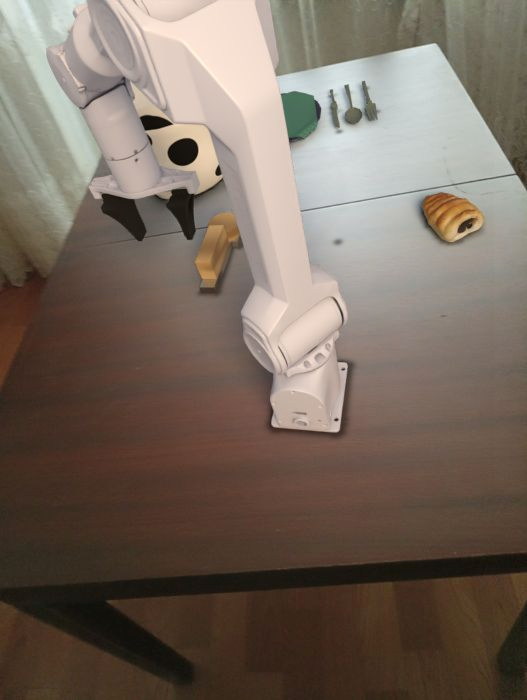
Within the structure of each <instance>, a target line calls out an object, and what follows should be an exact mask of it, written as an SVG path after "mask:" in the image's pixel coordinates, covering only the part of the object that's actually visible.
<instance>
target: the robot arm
mask: <svg viewBox="0 0 527 700" xmlns="http://www.w3.org/2000/svg"><path fill="white" fill-rule="evenodd" d="M271 7H272V6H271V1H270V0H86V1H85V2H83V3H81V4H79V5H77V6H75V7H74V8H73V10H72V15H73V17H74V21H73V24H72V25H70V26H69V27H68V28H67V34H68V35H67V37H66V39H65V41H63V42H61V43H59V44H57V45H55V46H53V45H52V46H47V47H46V54H45V55H46V60H47V62H48V65H49V67H50V70H51V72H52V74H53V76H54V78H55V80H56V81H57V83H58V85H59V87H60V88H61V90H62V91H63V93H64V94H65V96H67V98H68V99H69V100H70V102H71V103H72V104H73V105H74V106H76V107H77V108H78V109H79V111H80V113H81V115H82V118H83V119H84V121H85V123H86V125H87V127H88V129H89V131H90V132H91V135H92V137H93V139H94V141H95V142H96V143H95V144H96V145H97V147H98V149H99V151H100V152H101V155H102V157H103V158H104V160H105V162H106V164H107V166H108V168H109V170H110V173H111V174H109V175H105V176H100V177H99V176H98V177H94V178H93V179H92V180H91V182H90V183H89V185H88V189H89V191H90V193H91V194H92V196H93V198H94V200H102V204H101V206H100V210H101V212H102V213H103V214H104V215H106V216H108V217H110V218H112V219H113V220H114V221H116V222H118V223H119V224H120V225H121V226H122V227H123V228H125V230H127V232H129V233H130V234H131V235H132V237H133V238H134V239H135V240H136V241H137V242H143V241H144V238H145V237H146V234H147V233H148V231H147V227H146V225H145V223H144V220H143V218H142V216H141V214H140V211H139V209H138V206H137V204H136V201H135V200H138V199H143V198H147V197H151V196H154V194H158V193H162V192H171V194H172V196H170V198H169V200H167V203H166V205H165V207H166V208H167V209H168V211H169V212H170V213H171V214H172V215H173V216H174V218H175V219H176V221H177V222H178V224H179V226H180V228H181V231H182V233H183V236H184V237H185V239H186V240H187V241H192V240H193V239H194V237H195V234H196V233H197V227H196V222H195V197H196V196H195V193H196V192H197V190H198V188H199V185H200V182H199V179H198V176H197V173H196V171H183V170H178V169H172V168H167V167H162V166H159V163H158V161H157V158H156V156H155V154H154V151H153V149H152V146H151V144H150V142H149V139H148V137H147V134H146V132H145V130H144V127H143V125H142V122H141V120H140V118H139V115H138V113H137V110H136V108H135V106H134V103H133V101H134V99H135V94H134V92H133V89H132V87H131V83H130V81H131V82H132V83H133V84H134V85H135V86H136V87H137V88H138V89H139V90H140V91H141V92H142V93H143V94H144V95H145V96H146V97H147V98H148V99H149V100H150V101H151V102H152V103H153V104H154V105H155V106H156V107H157V108H158V109H159V110H161V111H162V112H163V113H164V114H165V115H166V116H167V117H168V118H169V119H170V120H171V121H172V122H173V123H175V124H196V125H204V126H206V127H207V128H208V130H209V133H210V136H211V139H212V143H213V146H214V149H215V153H216V156H217V159H218V162H219V166H220V169H221V172H222V176H223V179H222V180H223V182H224V185H225V189H226V192H227V196H228V199H229V202H230V206H231V209H232V213H234V216H235V219H236V222H237V226H238V229H239V232H240V236H241V239H242V240H241V243H242V245H243V249H244V252H245V256H246V259H247V262H248V265H249V269H250V272H251V275H252V279H253V282H254V285H253V288H252V289H251V291H250V293H249V295H248V297H247V299H246V301H245V302H244V304H243V306H242V308H241V311H240V316H241V320H242V325H243V326H242V339H243V341H244V343H245V345H246V347H247V348H248V350H249V352H250V353H251V354H252V356H253V357H254V358H255V360H256V361H257V362H258V363H259V364H260V366H262V367H263V368H264V369H265V370H266V371H268V372H269V373H271V374H272V384H271V388H270V389H271V390H270V393H269V402H270V405H271V407H272V410H273V411H272V412H273V413H272V416H271V421H270V424H271V426H272V427H273V428H275V429H276V428H277V429H278V428H279V429H289V430H301V431H313V432H322V433H323V432H325V433H338V432H339V431H340V430H341V423H342V416H343V408H344V400H345V392H346V383H347V376H348V369H349V366H348V363H347V362H343V361H338V356H337V350H336V345H335V343H336V341H337V339H338V338H340V332H339V331H340V330H339V328H342V327H343V326H345V325H346V324H347V322H348V321H349V313H348V305H347V303H346V300H345V299H344V297H343V295H342V293H341V291H340V288H339V281H338V280H337V279H336V278H335V277H334V276H333V275H332V274H330V272H328V271H327V270H326V269H325V268H323V267H322V266H320V265H318V264H316V263H313V262H310V258H309V251H308V247H307V245H308V244H307V240H306V235H305V229H304V228H305V227H304V222H303V216H302V211H301V204H300V199H299V193H298V187H297V182H296V181H297V180H296V174H295V169H294V163H293V157H292V152H291V145H290V142H289V139H288V133H287V127H286V121H285V115H284V109H283V103H282V98H281V94H282V93H281V88H280V85H279V80H278V77H277V74H276V70H277V67H278V65H279V63H280V62H279V61H280V58H279V57H280V56H279V50H278V43H277V38H276V34H275V27H274V20H273V14H272V8H271Z"/></svg>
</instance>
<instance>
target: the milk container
mask: <svg viewBox="0 0 527 700" xmlns="http://www.w3.org/2000/svg"><path fill="white" fill-rule="evenodd" d="M130 83H131V87H132V89H133V92H134V94H135V99H134V101H133V103H134V106H135V108H136V110H137V113H138V115H139V118H140V120H141V122H142V125H143V127H144V130H145V132H146V134H147V137H148V139H149V142H150V144H151V146H152V149H153V151H154V154H155V156H156V158H157V161H158V163H159V166H162V167H167V168H172V169H178V170H183V171H196V173H197V176H198V179H199V182H200V185H199V188H198V190H197V192H196V193H195V197H198V196H202V195H203V194H204V193H206V192H208V191H211V190H212V189H214V188H215V187H216V186H217V185H218V184H219V183H220V182H222V181H223V180H224V179H223V176H222V172H221V169H220V166H219V162H218V159H217V156H216V153H215V149H214V146H213V143H212V139H211V136H210V133H209V130H208V128H207V127H206V126H204V125H196V124H175V123H173V122H172V121H171V120H170V119H169V118H168V117H167V116H166V115H165V114H164V113H163V112H162V111H161V110H159V109H158V108H157V107H156V106H155V105H154V104H153V103H152V102H151V101H150V100H149V99H148V98H147V97H146V96H145V95H144V94H143V93H142V92H141V91H140V90H139V89H138V88H137V87H136V86H135V85H134V84H133V83H132V82H131V81H130ZM153 196H154V197H156V198H158V199H161V200H166V201H169V198H170V196H172V194H171V192H162V193H158V194H154V195H153Z"/></svg>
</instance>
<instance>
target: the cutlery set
mask: <svg viewBox="0 0 527 700" xmlns="http://www.w3.org/2000/svg"><path fill="white" fill-rule="evenodd" d="M361 86H362V89H363V93H364V97H365V100H366V104H365V105H364V110H365V112H366V115H367V117H368V121H369V122H371V121H375V119H376V120H379V117H378V113H377V106H376V105H377V104H376V103H375V102H373V100H372V99H371V97H370V93H369V91H368V86H367V83H366V80H362V81H361ZM344 89H345V93H346V97H347V100H348V104H349V108H348V109H347V110H346V111H345V112H344V117H345V119H346V121H347V122H348V123H351V124H356V123H359V122H360V121H361V119H362V118H363V111H362V110H361V109H360V108H358V107H356V106H353V102H352V94H351V89H350V85H349V83H348V84H344ZM329 94H330V96H331V111H332V118H333V122H334V123H333V124H334V126H335V127H336V128H337V129H340V128H341V125H340V120H339V115H338V111H337V110H339V108H338V103H337V101H336V100H335V96H334V89H333V88H332V89H329ZM281 98H282V103H283V109H284V115H285V121H286V127H287V133H288V139H289V143H292V142H293V141H295V140H297V139H300V138H302V139H305V138H307V137H308V136H309V135H310V134H312V132H314V131H315V130H316V129H317V128H318V122H319V121H320V119H321V115H322V106H321V105H320V103H319V101H318V100H316V99H315V96H314V95H312V94H309V93H307V92H302V91H297V90H293V91H289V92H282V93H281Z"/></svg>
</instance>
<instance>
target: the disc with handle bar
mask: <svg viewBox="0 0 527 700" xmlns="http://www.w3.org/2000/svg"><path fill="white" fill-rule="evenodd" d="M206 227H207V230H206V233H205V235H204V236H203V240H202V242H201V245H200V248H199V249H198V253H197V255H196V257H195V260H194V263H195V266H196V268H197V270H198V273H199V275H200V277H201V280H202V279H217V277H218V274H219V271H220V268H221V266H222V263H223V260H224V257H225V254H226V251H227V248H228V246H229V242H231V241H233V240H235V239H236V238H237V237H239V235H240V232H239V229H238V226H237V222H236V219H235V216H234V212H221V213H218V214H216V215H214V216H213V217H212V218H211V219H210V220H209V221H208V223H207V226H206Z"/></svg>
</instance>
